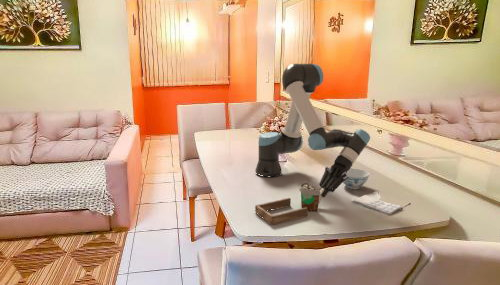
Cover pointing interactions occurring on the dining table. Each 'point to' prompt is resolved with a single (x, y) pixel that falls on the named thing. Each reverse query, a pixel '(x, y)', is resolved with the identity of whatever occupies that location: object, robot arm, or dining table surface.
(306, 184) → the food container
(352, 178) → the chinaware
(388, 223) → the dining table surface
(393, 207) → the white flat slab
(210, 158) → the dining table surface
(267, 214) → the caddy
